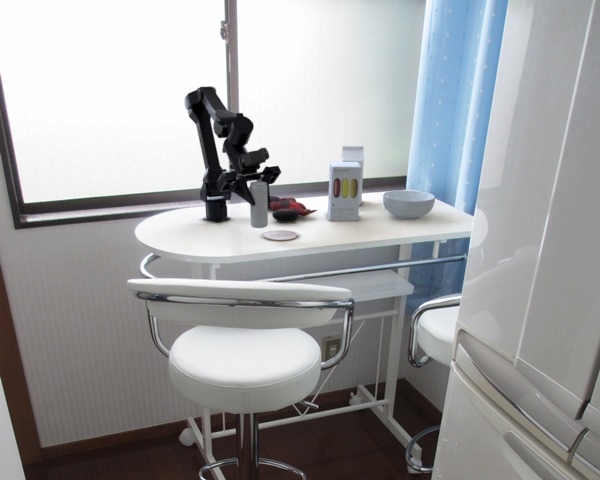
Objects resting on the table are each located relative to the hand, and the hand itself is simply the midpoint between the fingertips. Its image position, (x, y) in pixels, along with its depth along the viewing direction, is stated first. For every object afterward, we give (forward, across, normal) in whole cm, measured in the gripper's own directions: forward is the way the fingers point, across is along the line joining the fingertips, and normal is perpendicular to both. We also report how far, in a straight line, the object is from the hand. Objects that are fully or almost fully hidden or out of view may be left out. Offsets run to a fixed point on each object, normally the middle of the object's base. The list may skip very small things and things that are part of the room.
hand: (261, 203), depth 191 cm
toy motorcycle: (-8, +27, +26) cm, 38 cm away
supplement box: (+2, +39, +15) cm, 41 cm away
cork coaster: (+6, +9, +11) cm, 15 cm away
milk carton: (-8, +54, +25) cm, 60 cm away
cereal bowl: (+10, +56, +7) cm, 58 cm away
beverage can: (+4, 0, +6) cm, 7 cm away
